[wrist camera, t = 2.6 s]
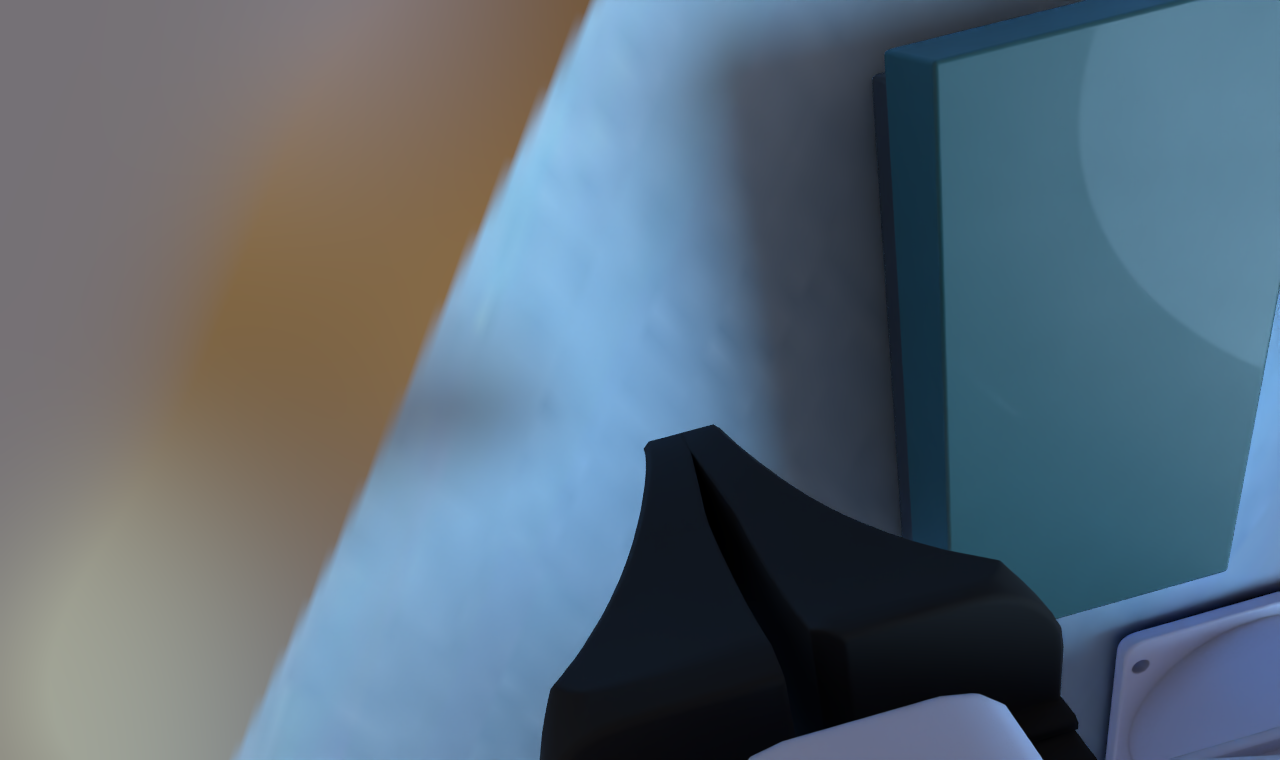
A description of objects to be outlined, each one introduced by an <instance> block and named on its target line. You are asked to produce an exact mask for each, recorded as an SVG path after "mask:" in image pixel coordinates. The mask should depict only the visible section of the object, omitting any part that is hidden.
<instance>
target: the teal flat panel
mask: <svg viewBox="0 0 1280 760" xmlns="http://www.w3.org/2000/svg"><path fill="white" fill-rule="evenodd" d="M884 56H885V73H881V74H877V75H875V76H874V77H873V79H872V86H873V101H874V116H875V131H876V147H877V162H878V177H879V192H880V207H881V222H882V237H883V252H884V268H885V283H886V298H887V313H888V328H889V343H890V358H891V373H892V389H893V404H894V419H895V434H896V449H897V464H898V479H899V494H900V510H901V525H902V538H905V539H908V540H912V541H915V542H919V543H922V544H926V545H930V546H933V547H937V548H941V549H945V550H949V551H954V552H960V553H965V554H970V555H975V556H980V557H986V558H991V559H996V560H1000V561H1002V562H1003V563H1004V564H1005V565H1006V566H1007V567H1008V568H1009V569H1010V570H1011V571H1012V572H1013V573H1014V574H1016V575H1017V576H1018V577H1019V578H1020V579H1021V580H1022V581H1023V582H1024V583H1025V584H1026V585H1027V586H1028V587H1029V588H1030V589H1031V590H1032V591H1033V592H1034V593H1035V594H1036V595H1037V596H1038V597H1039V598H1040V599H1041V600H1042V602H1043V603H1044V604H1045V605H1046V606H1047V607H1048V609H1049V610H1050V611H1051V612H1052V613H1053V615H1054V617H1055V618H1056V619H1058V618H1061V617H1065V616H1069V615H1072V614H1076V613H1079V612H1083V611H1086V610H1090V609H1093V608H1097V607H1100V606H1104V605H1108V604H1111V603H1115V602H1118V601H1122V600H1125V599H1129V598H1132V597H1136V596H1139V595H1143V594H1146V593H1150V592H1154V591H1157V590H1161V589H1164V588H1168V587H1171V586H1175V585H1178V584H1182V583H1185V582H1189V581H1193V580H1196V579H1200V578H1203V577H1207V576H1210V575H1214V574H1217V573H1221V572H1224V571H1226V570H1227V567H1228V562H1229V556H1230V551H1231V546H1232V540H1233V535H1234V529H1235V524H1236V519H1237V513H1238V508H1239V503H1240V497H1241V492H1242V487H1243V481H1244V476H1245V470H1246V465H1247V460H1248V454H1249V449H1250V444H1251V438H1252V433H1253V428H1254V422H1255V417H1256V412H1257V406H1258V401H1259V395H1260V390H1261V385H1262V379H1263V374H1264V369H1265V363H1266V358H1267V353H1268V347H1269V342H1270V336H1271V331H1272V326H1273V320H1274V315H1275V310H1276V304H1277V299H1278V294H1279V288H1280V0H1086V1H1082V2H1078V3H1074V4H1070V5H1066V6H1062V7H1058V8H1053V9H1049V10H1045V11H1041V12H1037V13H1033V14H1029V15H1025V16H1021V17H1017V18H1013V19H1009V20H1005V21H1001V22H997V23H993V24H989V25H985V26H981V27H977V28H973V29H969V30H965V31H961V32H957V33H953V34H949V35H945V36H941V37H936V38H932V39H928V40H924V41H920V42H916V43H912V44H908V45H904V46H900V47H896V48H892V49H889V50H887V51H886V52H885V55H884Z"/></svg>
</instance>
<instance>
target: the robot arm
mask: <svg viewBox="0 0 1280 760" xmlns="http://www.w3.org/2000/svg"><path fill="white" fill-rule="evenodd" d="M644 451H645V456H646V477H645V487H644V494H643V500H642V506H641V512H640V516H639V520H638V524H637V528H636V532H635V536H634V540H633V543H632V547H631V550H630V553H629V556H628V559H627V562H626V564H625V567H624V570H623V572H622V575H621V577H620V580H619V582H618V584H617V586H616V588H615V591H614V593H613V595H612V597H611V599H610V601H609V603H608V605H607V607H606V609H605V611H604V613H603V615H602V617H601V618H600V620H599V622H598V623H597V625H596V627H595V628H594V630H593V632H592V633H591V635H590V636H589V638H588V640H587V641H586V643H585V645H584V646H583V648H582V649H581V651H580V652H579V654H578V655H577V656H576V658H575V659H574V660H573V662H572V663H571V664H570V665H569V667H568V668H567V669H566V671H565V672H564V673H563V674H562V676H561V677H560V678H559V680H558V681H557V682H556V683H555V684H554V685H553V687H552V688H551V689H550V694H549V698H548V703H547V708H546V713H545V718H544V725H543V731H542V740H541V752H540V760H1097V758H1096V757H1095V756H1094V754H1093V753H1092V752H1091V750H1090V749H1089V748H1088V746H1087V745H1086V744H1085V742H1084V741H1083V740H1082V739H1081V737H1080V736H1079V735H1078V733H1077V732H1076V731H1075V730H1077V729H1078V720H1077V718H1076V715H1075V714H1074V713H1073V711H1072V710H1071V709H1070V708H1069V706H1068V705H1067V704H1066V702H1065V701H1064V700H1063V699H1062V697H1061V696H1060V693H1061V676H1062V660H1063V639H1062V630H1061V627H1060V625H1059V624H1058V622H1057V620H1056V618H1055V617H1054V615H1053V613H1052V612H1051V611H1050V610H1049V609H1048V607H1047V606H1046V605H1045V604H1044V603H1043V602H1042V600H1041V599H1040V598H1039V597H1038V596H1037V595H1036V594H1035V593H1034V592H1033V591H1032V590H1031V589H1030V588H1029V587H1028V586H1027V585H1026V584H1025V583H1024V582H1023V581H1022V580H1021V579H1020V578H1019V577H1018V576H1017V575H1016V574H1014V573H1013V572H1012V571H1011V570H1010V569H1009V568H1008V567H1007V566H1006V565H1005V564H1004V563H1003V562H1002V561H1000V560H996V559H991V558H986V557H980V556H975V555H970V554H965V553H960V552H954V551H949V550H945V549H941V548H937V547H933V546H930V545H926V544H922V543H919V542H915V541H912V540H908V539H905V538H902V537H899V536H896V535H893V534H890V533H887V532H885V531H882V530H879V529H877V528H874V527H872V526H869V525H866V524H864V523H861V522H859V521H857V520H854V519H852V518H850V517H847V516H845V515H843V514H841V513H839V512H837V511H835V510H833V509H831V508H829V507H827V506H825V505H823V504H822V503H820V502H818V501H816V500H815V499H813V498H811V497H809V496H808V495H806V494H805V493H803V492H801V491H800V490H798V489H797V488H795V487H793V486H792V485H790V484H789V483H787V482H786V481H785V480H783V479H782V478H780V477H779V476H777V475H776V474H775V473H773V472H772V471H771V470H769V469H768V468H766V467H765V466H764V465H762V464H761V463H760V462H758V461H757V460H756V459H755V458H753V457H752V456H751V455H750V454H748V453H747V452H746V451H745V450H744V449H742V448H741V447H740V446H739V445H738V444H736V443H735V442H734V441H733V440H732V439H731V438H730V437H729V436H728V435H727V434H725V433H724V432H723V431H722V430H721V429H720V428H719V427H717V426H715V425H714V424H713V425H710V426H706V427H702V428H698V429H695V430H691V431H687V432H683V433H680V434H676V435H672V436H668V437H665V438H661V439H657V440H653V441H650V442H648V443H647V445H646V446H645V448H644ZM1105 760H1280V591H1279V592H1275V593H1272V594H1268V595H1264V596H1261V597H1257V598H1254V599H1250V600H1247V601H1243V602H1240V603H1236V604H1233V605H1229V606H1226V607H1222V608H1219V609H1215V610H1212V611H1208V612H1205V613H1201V614H1198V615H1194V616H1191V617H1187V618H1184V619H1180V620H1177V621H1173V622H1170V623H1166V624H1163V625H1159V626H1155V627H1152V628H1148V629H1145V630H1141V631H1138V632H1134V633H1132V634H1130V635H1128V636H1126V637H1125V638H1124V639H1122V641H1121V642H1120V643H1119V646H1118V649H1117V656H1116V665H1115V675H1114V684H1113V693H1112V703H1111V712H1110V721H1109V731H1108V740H1107V749H1106V759H1105Z"/></svg>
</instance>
